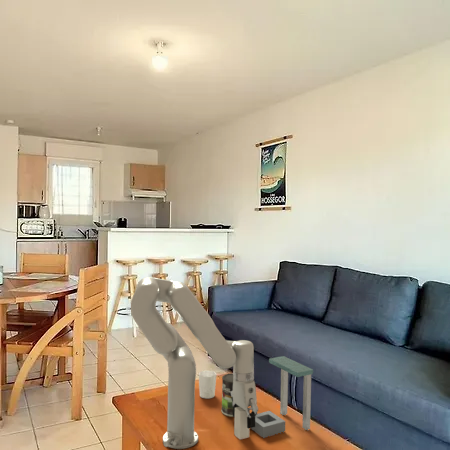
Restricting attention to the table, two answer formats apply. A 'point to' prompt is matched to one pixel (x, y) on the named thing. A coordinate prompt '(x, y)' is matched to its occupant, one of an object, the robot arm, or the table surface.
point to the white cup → (207, 383)
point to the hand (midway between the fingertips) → (243, 421)
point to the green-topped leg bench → (294, 369)
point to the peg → (241, 423)
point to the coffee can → (227, 394)
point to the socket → (268, 424)
